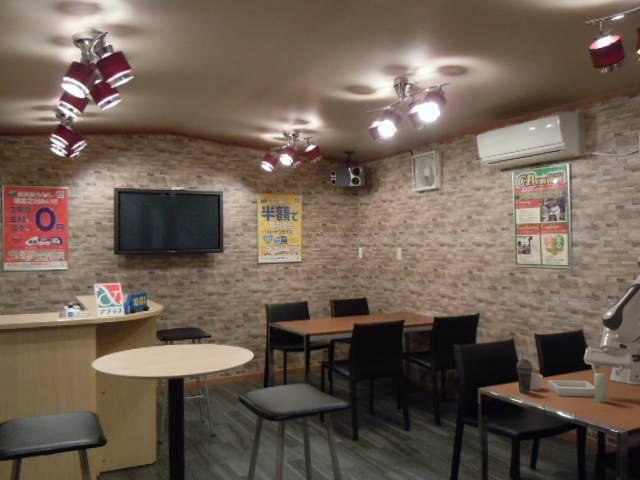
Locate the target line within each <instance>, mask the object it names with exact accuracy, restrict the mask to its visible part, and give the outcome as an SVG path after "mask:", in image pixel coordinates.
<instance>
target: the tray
mask: <svg viewBox="0 0 640 480" xmlns="http://www.w3.org/2000/svg"><path fill="white" fill-rule="evenodd" d="M547 388H548V389H549V390H551V391H552V392H554V393H555V394H556V395H557V396H559V397H583V398H584V397H586V398H587V397H588V398H594V385H593V384H592V383H590V382H589V381H587V380H563V379H562V380H561V379H558V380H557V379H556V380H555V379H553V380H552V379H548V380H547Z"/></svg>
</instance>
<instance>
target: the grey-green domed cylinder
mask: <svg viewBox="0 0 640 480" xmlns="http://www.w3.org/2000/svg"><path fill="white" fill-rule="evenodd" d="M607 375H608V374H607V373H604V372H597V373H595V372H593V376H594V377H593V378H594V379H593V384H594V385H593V386H594V397H593V398H594V401H595V402H596V403H597V402H598V403H607V402H608V393H607V392H608V390H607V389H608V388H607V387H608V383H607V382H608V381H607V379H608V378H607Z"/></svg>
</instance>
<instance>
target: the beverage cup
mask: <svg viewBox="0 0 640 480" xmlns="http://www.w3.org/2000/svg"><path fill="white" fill-rule="evenodd" d="M520 353H521V359H519V360H518V361H517V363H516V372H517V382H518V390H519V393H520V394H530V391H531V389H530V382H531V373H532V372H533V365H532V363H531V361H530V360H528V359H525V358H524V356H523V349H520Z"/></svg>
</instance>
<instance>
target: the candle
mask: <svg viewBox="0 0 640 480" xmlns="http://www.w3.org/2000/svg"><path fill="white" fill-rule="evenodd" d="M543 378H544V376H543V375H542V374H538V373H535V372H534V373H531V382H530V391H533V390H534V391H539V390H541V388H542V383H543Z"/></svg>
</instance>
